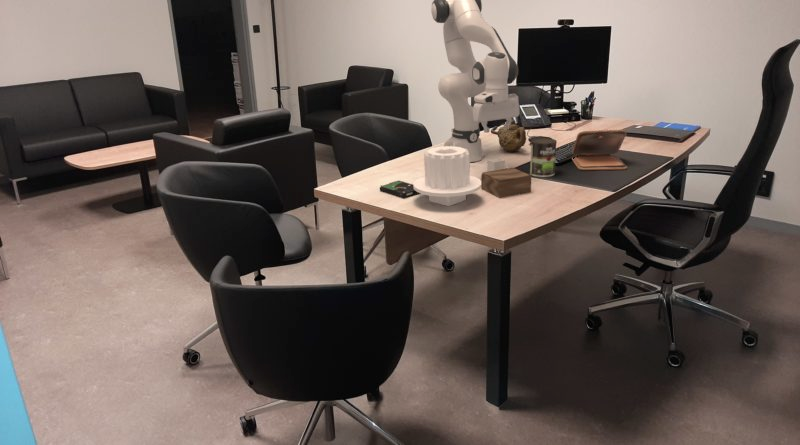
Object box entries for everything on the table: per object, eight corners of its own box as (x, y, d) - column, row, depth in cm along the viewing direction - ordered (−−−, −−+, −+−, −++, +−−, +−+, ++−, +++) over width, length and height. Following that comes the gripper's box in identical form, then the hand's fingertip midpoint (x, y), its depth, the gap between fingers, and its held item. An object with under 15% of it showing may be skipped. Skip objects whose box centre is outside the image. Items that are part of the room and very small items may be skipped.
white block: (487, 178, 258) (487, 159, 255) (497, 176, 260) (497, 157, 257) (494, 181, 254) (494, 162, 251) (504, 179, 256) (504, 160, 253)
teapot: (489, 148, 305) (489, 117, 300) (509, 145, 310) (509, 115, 305) (514, 157, 287) (515, 125, 282) (535, 154, 292) (536, 122, 286)
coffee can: (559, 175, 258) (561, 141, 253) (536, 178, 255) (538, 144, 250) (547, 169, 267) (548, 136, 262) (525, 172, 265) (526, 139, 260)
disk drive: (424, 194, 244) (398, 186, 255) (423, 187, 243) (398, 179, 254) (404, 200, 238) (379, 192, 248) (403, 193, 237) (378, 185, 247)
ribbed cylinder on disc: (400, 202, 234) (397, 152, 227) (444, 186, 250) (443, 139, 244) (450, 216, 217) (449, 163, 210) (495, 198, 233) (495, 148, 227)
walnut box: (481, 189, 245) (481, 172, 243) (512, 184, 250) (512, 167, 248) (499, 198, 234) (499, 180, 231) (530, 192, 239) (531, 175, 236)
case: (617, 158, 280) (619, 122, 275) (628, 170, 261) (631, 132, 255) (570, 159, 283) (572, 123, 277) (578, 171, 263) (580, 134, 258)
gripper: (513, 92, 252) (512, 126, 257) (470, 97, 244) (470, 132, 248) (523, 93, 247) (522, 128, 251) (479, 99, 238) (479, 135, 243)
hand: (496, 130), depth 250 cm, fingers open, 8 cm apart
